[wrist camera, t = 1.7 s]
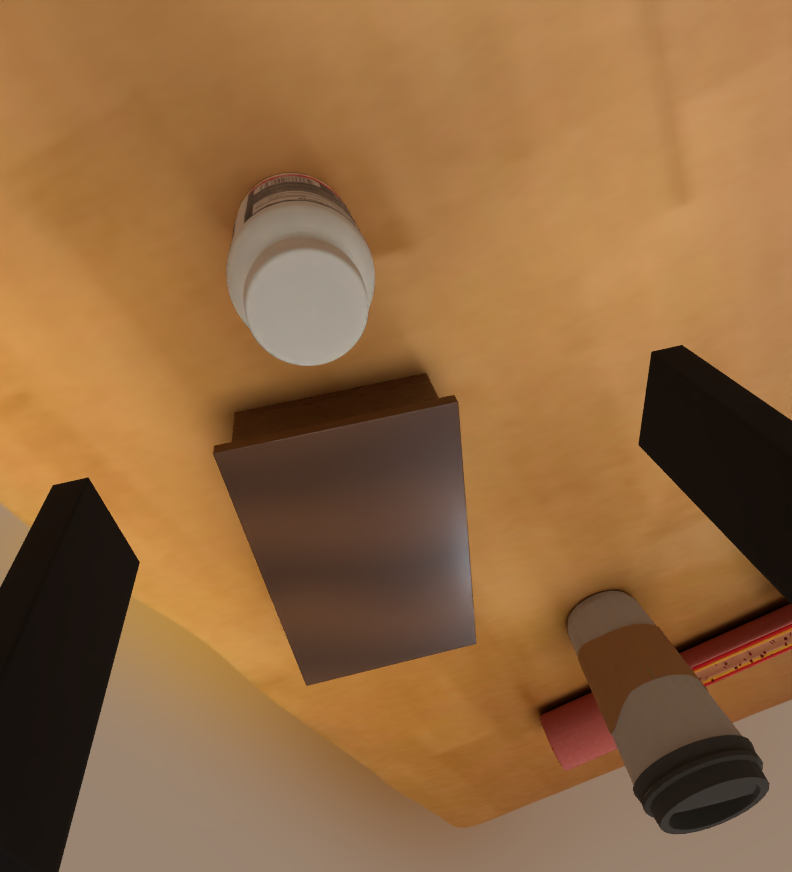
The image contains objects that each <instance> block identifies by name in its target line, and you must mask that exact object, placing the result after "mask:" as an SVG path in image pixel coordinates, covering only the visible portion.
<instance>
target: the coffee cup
mask: <svg viewBox="0 0 792 872" xmlns="http://www.w3.org/2000/svg"><path fill="white" fill-rule="evenodd" d="M567 632H568V635H569V638H570V640H571V642H572V644H573V647H574V649H575V651H576V654H577V656H578V660H579V662H580V665H581V667H582V670H583V672H584V674H585V677H586V679H587V681H588V684H589V686H590V688H591V691H592V693H593V695H594V698H595V700H596V702H597V705H598V707H599V709H600V712H601V714H602V716H603V718H604V721H605V723H606V725H607V728H608V730H609V732H610V734H612V736H613V739H614V741H615V743H616V746H617V748H618V750H619V752H620V755H621V757H622V759H623V762H624V764H625V766H626V768H627V771H628V773H629V775H630V778H631V780H632V782H633V785H634V787H633V791H634V794H635V796H636V797H637V798H638V800H639V801H640V802H641V803H642V806H643V809H644V810H645V812H646V813H647V814H648V815H649V816H651V817H654V818H655V820H656V822H657V823H658V825H659V827H660V828H661V830H663V831H664V832H666V833H670V834H686V833H691V832H697V831H701V830H704V829H708V828H711V827H714V826H716V825H719V824H722V823H724V822H726V821H728V820H730V819H732V818H734V817H737V816H738V815H740V814H742V813H743V812H745V811H747V810H749V809H750V808H751V807H752V806H754V805H755V804H757V803H758V802H759V801H760V800H761V799H762V798H763V797H764V796H765V795H766V793H767V791H768V790H769V782H768V781H767V779H766V777H765V775H764V773H763V772H762V769H763V762H762V760H761V759H760V758H759V756H758V755H757V754H756V752H755V750H754V747H753V745H752V743H751V742H750V741H749V739H748V738H745V737H743V736H742V735H741V734H740V733H739V731H738V730H737V729H736V728H735V726H734V725H733V724H732V722H731V721H730V720H729V718H728V717H727V716H726V715H725V713H724V712H723V711H722V710H721V708H720V707H719V706H718V704H717V703H716V702H715V701H714V699H713V698H712V697H711V695H710V694H709V693H708V690H707V688H706V687H705V686H704V684H703V683H702V682H701V681H700V679H699V678H698V677H697V675H696V674H695V673H694V672H693V670H692V669H691V668H690V667H689V665H688V664H687V663H686V661H685V660H684V659H683V658H682V656H681V655H680V654H679V653H678V651H677V650H676V649H675V647H674V646H673V645H672V644H671V642H670V641H669V640H668V639H667V637H666V636H665V635H664V633H663V632H662V631H661V630H660V628H659V627H657V626H656V625H655V624H654V622H653V621H652V620H651V619H650V617H649V616H648V615H647V613H646V612H645V611H644V610H643V608H642V607H641V606H640V604H639V603H638V602H637V601H636V599H635V598H633V597H631V596H629V595H628V594H626V593H624V592H621V591H605V592H601V593H598V594H595V595H593V596H590V597H589V598H587V599H585V600H584V601H582V602H581V603H580V604H578V605H577V606H576V607H575V608H574V610H573V611H572V612H571V613H570V616H569V618H568V631H567Z"/></svg>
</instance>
